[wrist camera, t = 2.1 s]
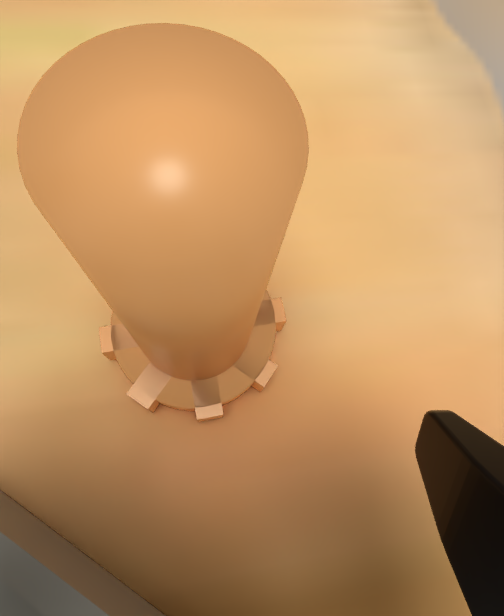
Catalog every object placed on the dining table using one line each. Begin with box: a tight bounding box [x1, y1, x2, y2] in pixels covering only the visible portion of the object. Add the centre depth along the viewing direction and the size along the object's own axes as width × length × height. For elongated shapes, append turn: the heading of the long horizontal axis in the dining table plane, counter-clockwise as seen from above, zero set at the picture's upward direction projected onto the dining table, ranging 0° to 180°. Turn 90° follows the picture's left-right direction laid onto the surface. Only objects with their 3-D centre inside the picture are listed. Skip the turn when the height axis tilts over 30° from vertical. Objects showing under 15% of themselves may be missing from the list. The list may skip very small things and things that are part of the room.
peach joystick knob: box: [17, 23, 309, 422], centre depth 13 cm, size 7×7×13 cm
